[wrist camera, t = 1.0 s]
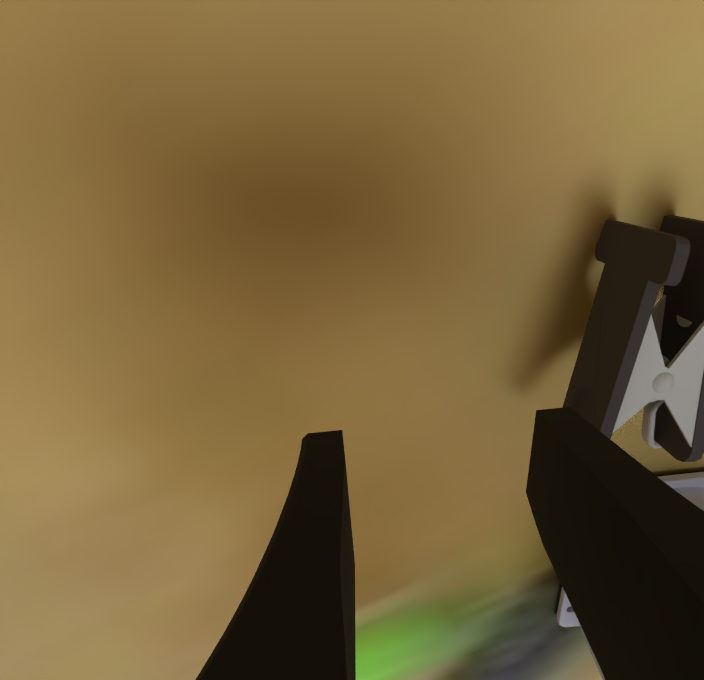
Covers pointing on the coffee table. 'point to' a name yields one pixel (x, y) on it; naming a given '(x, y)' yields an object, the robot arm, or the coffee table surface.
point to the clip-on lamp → (646, 336)
